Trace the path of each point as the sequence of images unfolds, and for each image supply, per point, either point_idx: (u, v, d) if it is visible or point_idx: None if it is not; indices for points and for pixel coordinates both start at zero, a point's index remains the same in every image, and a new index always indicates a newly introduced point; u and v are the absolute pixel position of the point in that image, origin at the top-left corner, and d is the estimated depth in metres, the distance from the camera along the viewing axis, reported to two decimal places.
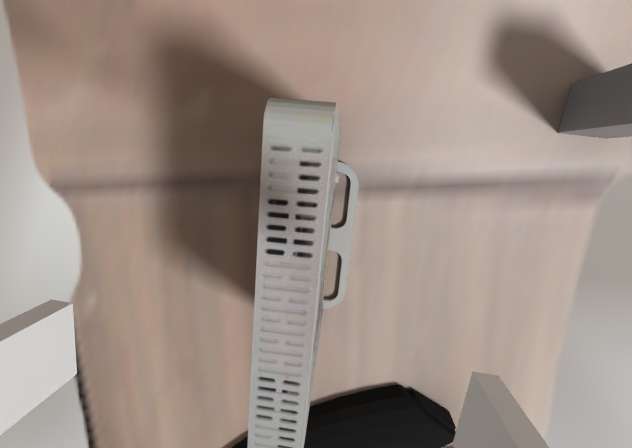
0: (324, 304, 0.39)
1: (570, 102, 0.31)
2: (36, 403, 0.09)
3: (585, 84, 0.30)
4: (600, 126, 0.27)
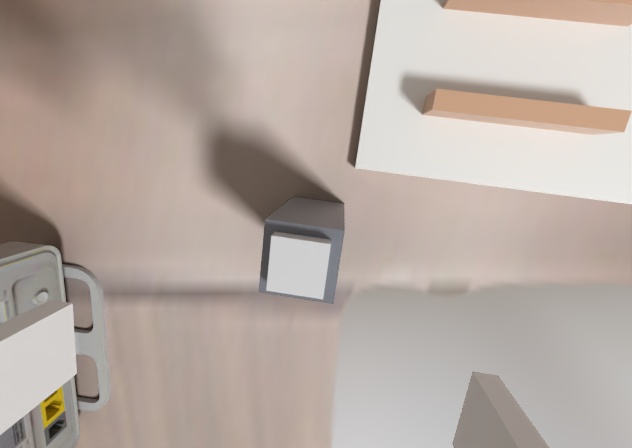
0: (88, 406, 0.37)
1: None
2: (36, 402, 0.09)
3: None
4: None
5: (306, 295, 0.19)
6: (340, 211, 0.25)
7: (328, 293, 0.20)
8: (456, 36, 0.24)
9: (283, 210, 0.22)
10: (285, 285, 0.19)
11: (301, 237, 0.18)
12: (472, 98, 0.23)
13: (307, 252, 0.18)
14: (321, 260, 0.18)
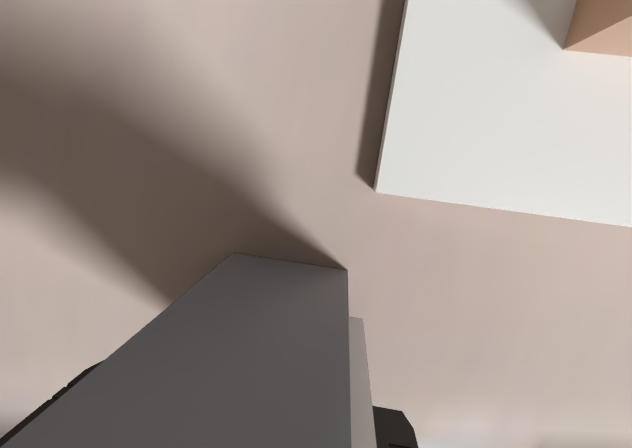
0: None
1: None
2: None
3: None
4: None
5: None
6: (337, 330, 0.08)
7: None
8: None
9: (113, 376, 0.06)
10: None
11: None
12: None
13: None
14: None
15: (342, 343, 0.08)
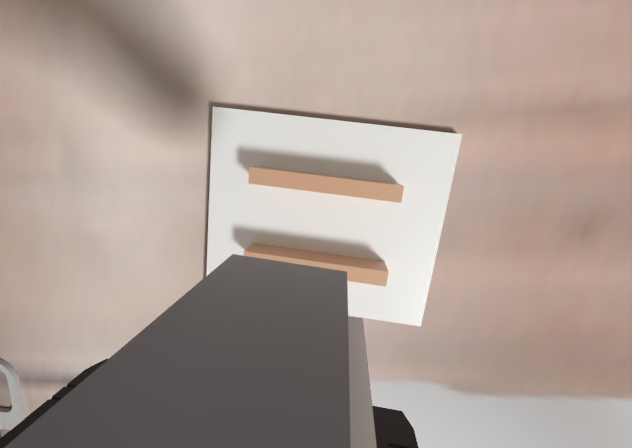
0: None
1: None
2: None
3: None
4: None
5: None
6: (336, 332, 0.08)
7: None
8: (270, 200, 0.31)
9: (113, 379, 0.06)
10: None
11: None
12: (271, 259, 0.29)
13: None
14: None
15: (341, 345, 0.08)
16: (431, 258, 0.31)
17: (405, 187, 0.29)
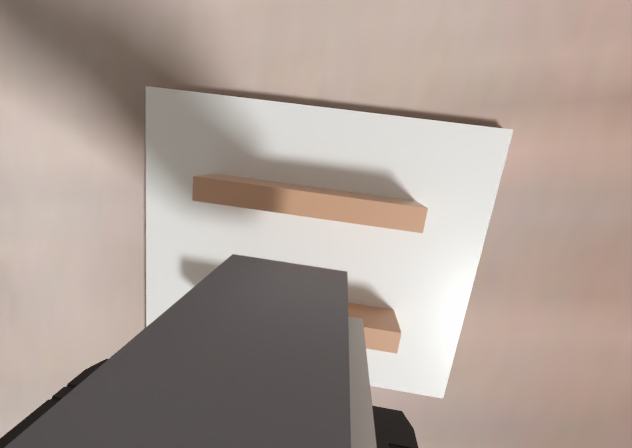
0: None
1: None
2: None
3: None
4: None
5: None
6: (337, 332, 0.08)
7: None
8: (231, 223, 0.22)
9: (113, 379, 0.06)
10: None
11: None
12: None
13: None
14: None
15: (342, 345, 0.08)
16: (461, 307, 0.21)
17: (426, 207, 0.20)
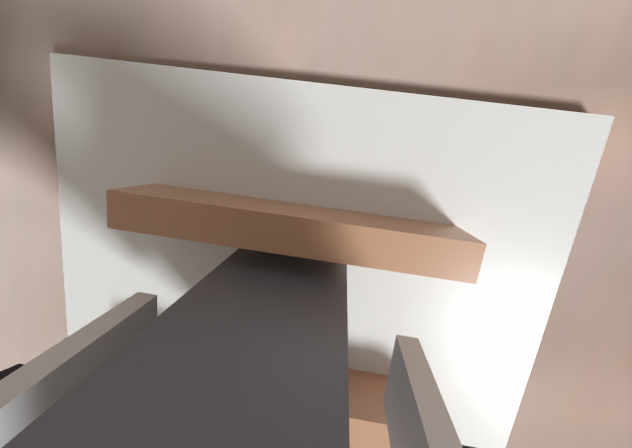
0: None
1: None
2: None
3: None
4: None
5: None
6: (337, 306, 0.10)
7: None
8: (183, 255, 0.15)
9: (158, 334, 0.07)
10: None
11: None
12: None
13: None
14: None
15: (341, 315, 0.09)
16: (519, 379, 0.15)
17: (471, 235, 0.13)
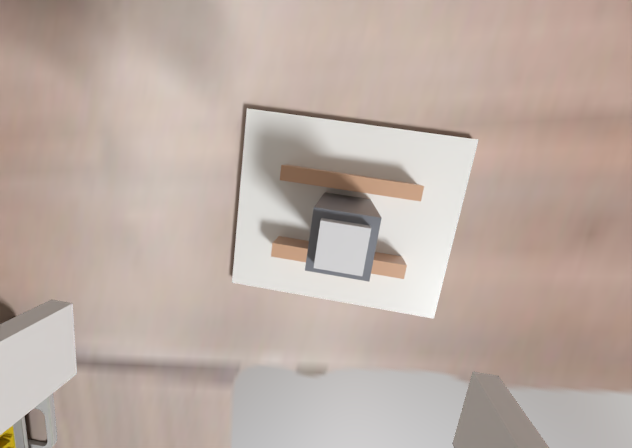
0: None
1: None
2: (36, 403, 0.09)
3: None
4: None
5: (348, 272, 0.22)
6: (370, 204, 0.28)
7: (365, 272, 0.23)
8: (296, 197, 0.33)
9: (323, 201, 0.25)
10: (330, 263, 0.22)
11: (345, 223, 0.22)
12: (297, 250, 0.31)
13: (350, 235, 0.21)
14: (362, 242, 0.21)
15: (372, 205, 0.27)
16: (446, 254, 0.33)
17: (423, 188, 0.32)
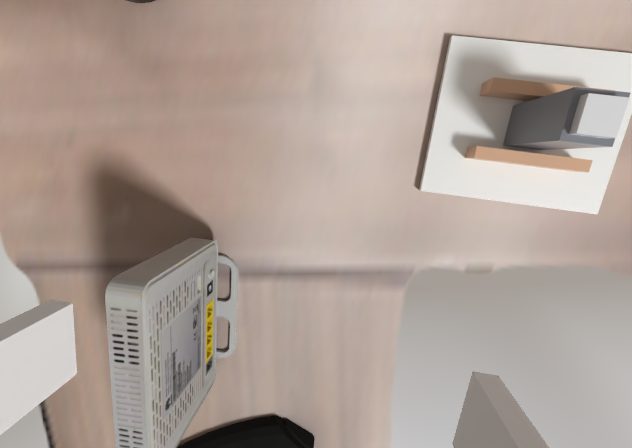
0: (220, 355, 0.52)
1: (511, 121, 0.39)
2: (36, 402, 0.09)
3: (520, 108, 0.38)
4: (527, 142, 0.35)
5: (605, 135, 0.28)
6: None
7: (610, 139, 0.29)
8: (487, 111, 0.40)
9: None
10: (591, 128, 0.28)
11: (604, 96, 0.28)
12: (498, 151, 0.38)
13: (612, 104, 0.28)
14: (620, 109, 0.28)
15: None
16: (613, 156, 0.40)
17: None
